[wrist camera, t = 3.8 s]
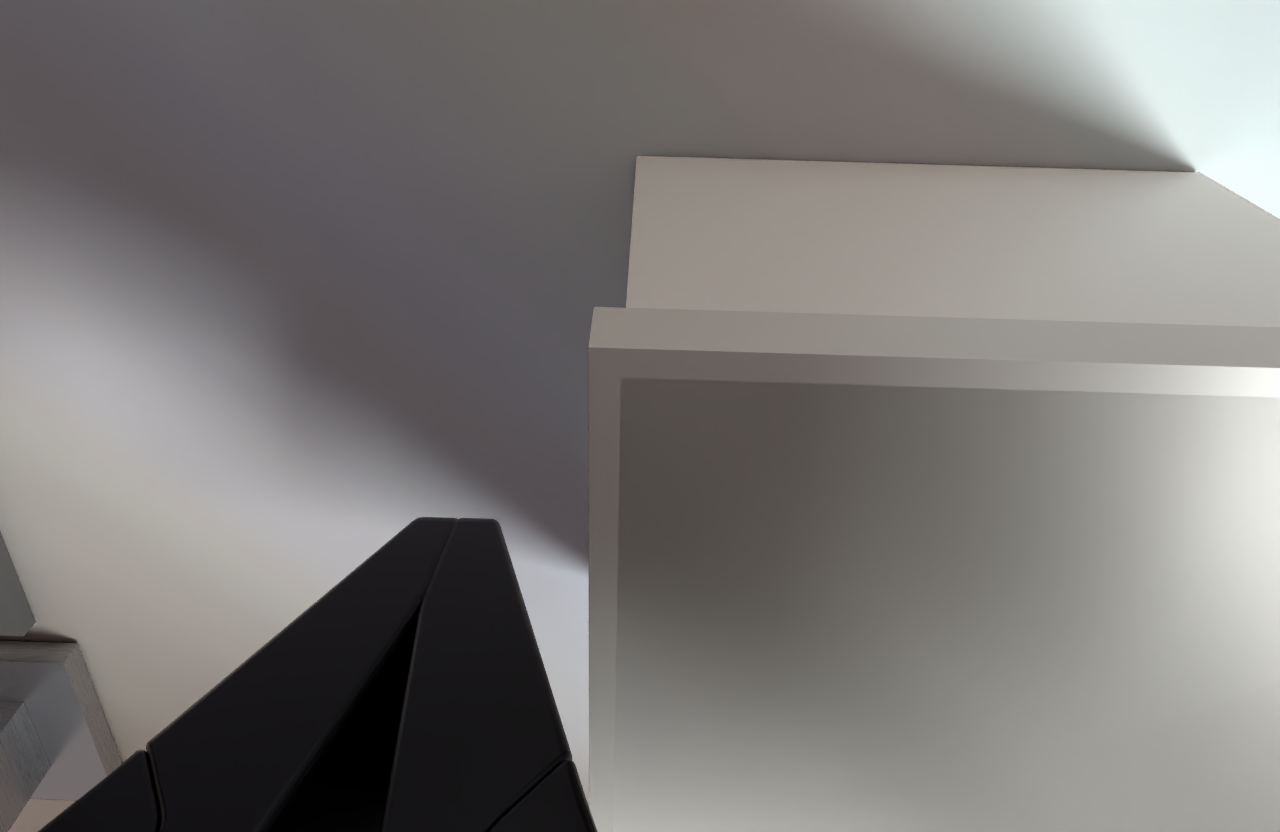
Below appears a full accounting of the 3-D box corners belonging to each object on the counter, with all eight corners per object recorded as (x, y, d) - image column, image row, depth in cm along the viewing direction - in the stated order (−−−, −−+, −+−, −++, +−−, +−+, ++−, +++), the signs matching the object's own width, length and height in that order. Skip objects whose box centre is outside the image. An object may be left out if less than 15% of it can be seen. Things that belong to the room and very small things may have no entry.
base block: (1070, 613, 13) (1267, 976, 9) (612, 599, 13) (590, 956, 9) (1225, 154, 10) (1651, 379, 6) (618, 136, 10) (588, 348, 6)
